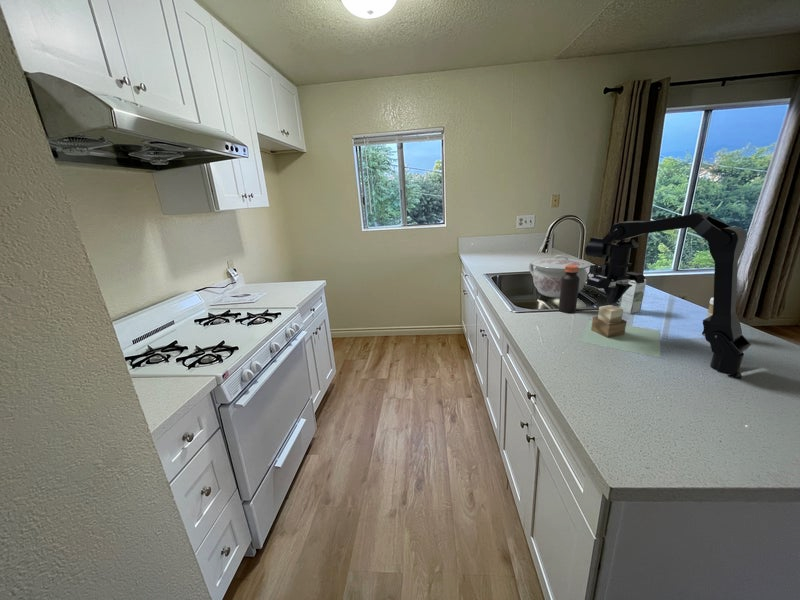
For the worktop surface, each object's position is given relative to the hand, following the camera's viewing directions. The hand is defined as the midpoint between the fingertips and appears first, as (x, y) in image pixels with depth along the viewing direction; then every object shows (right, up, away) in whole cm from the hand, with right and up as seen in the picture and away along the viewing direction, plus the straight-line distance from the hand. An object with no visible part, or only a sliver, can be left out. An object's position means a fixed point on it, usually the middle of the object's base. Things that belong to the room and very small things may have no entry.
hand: (611, 303), depth 112 cm
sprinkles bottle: (+33, -11, -1) cm, 35 cm away
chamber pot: (+6, +4, +51) cm, 52 cm away
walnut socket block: (+1, -11, +3) cm, 11 cm away
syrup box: (+23, -4, +24) cm, 34 cm away
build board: (+3, -12, 0) cm, 13 cm away
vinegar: (-1, -4, +29) cm, 29 cm away
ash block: (0, -6, +2) cm, 7 cm away
